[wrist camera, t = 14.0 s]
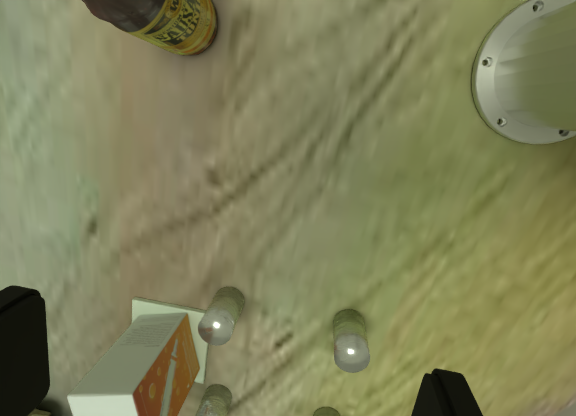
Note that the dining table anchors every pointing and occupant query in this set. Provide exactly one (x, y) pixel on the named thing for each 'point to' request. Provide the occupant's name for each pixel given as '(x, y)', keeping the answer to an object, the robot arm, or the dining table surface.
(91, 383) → the small box
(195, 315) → the sage mat
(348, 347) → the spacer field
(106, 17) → the sauce bottle
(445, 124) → the dining table surface
